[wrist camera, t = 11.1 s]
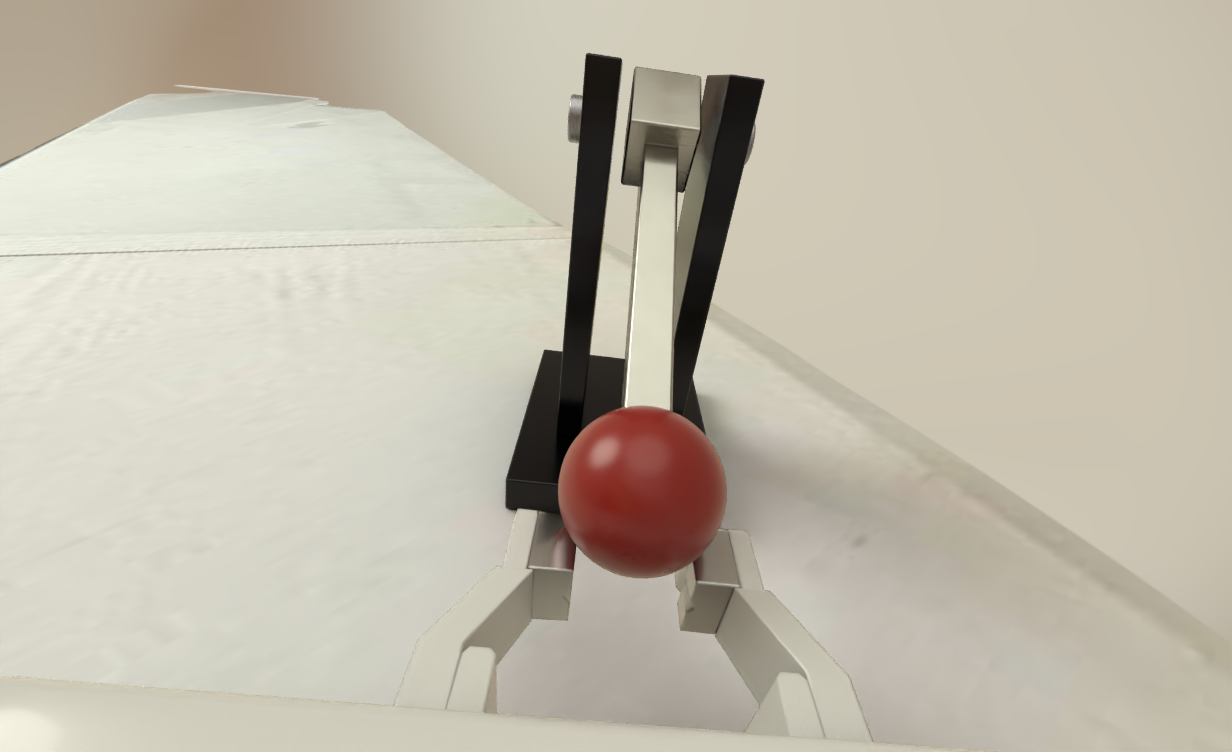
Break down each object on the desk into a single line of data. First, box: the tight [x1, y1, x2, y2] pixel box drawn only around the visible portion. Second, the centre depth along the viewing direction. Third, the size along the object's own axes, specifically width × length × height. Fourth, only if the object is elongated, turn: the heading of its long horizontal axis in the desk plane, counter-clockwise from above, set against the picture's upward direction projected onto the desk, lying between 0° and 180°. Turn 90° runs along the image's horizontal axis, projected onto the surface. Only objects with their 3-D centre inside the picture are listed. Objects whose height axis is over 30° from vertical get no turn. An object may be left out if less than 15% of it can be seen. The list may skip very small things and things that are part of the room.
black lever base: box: [505, 53, 764, 513], centre depth 19 cm, size 10×8×15 cm
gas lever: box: [558, 67, 727, 578], centre depth 13 cm, size 15×4×4 cm
